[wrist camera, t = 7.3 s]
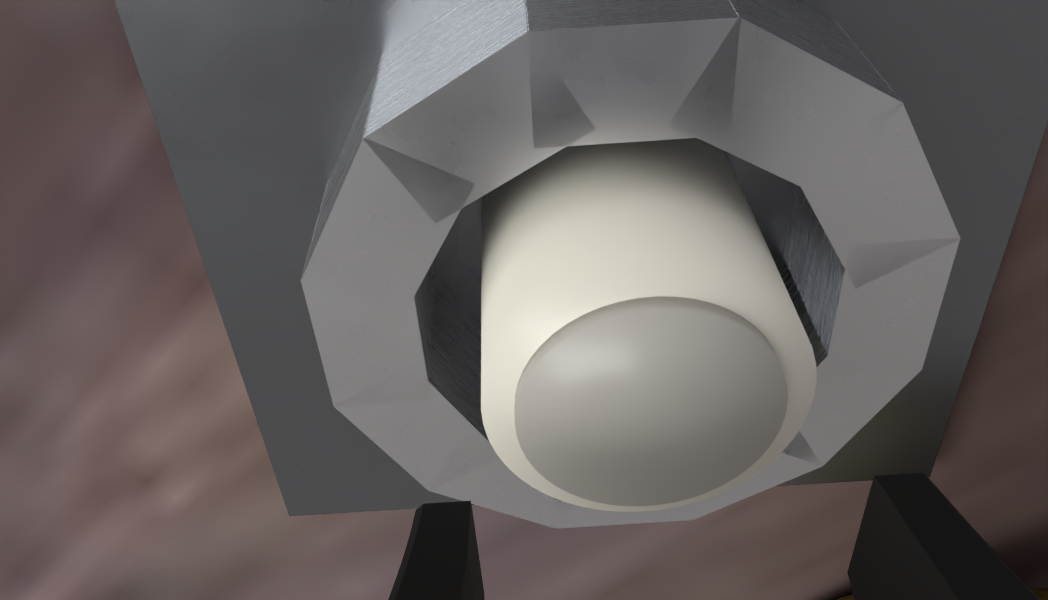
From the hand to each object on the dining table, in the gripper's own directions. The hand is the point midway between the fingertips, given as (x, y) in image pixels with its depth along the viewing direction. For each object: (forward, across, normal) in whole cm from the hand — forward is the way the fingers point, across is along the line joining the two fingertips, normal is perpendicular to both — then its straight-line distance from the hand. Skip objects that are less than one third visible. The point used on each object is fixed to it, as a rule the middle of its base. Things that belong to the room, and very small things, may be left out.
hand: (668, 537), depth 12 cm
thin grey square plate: (+8, 0, 0) cm, 8 cm away
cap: (+7, 0, 0) cm, 7 cm away
